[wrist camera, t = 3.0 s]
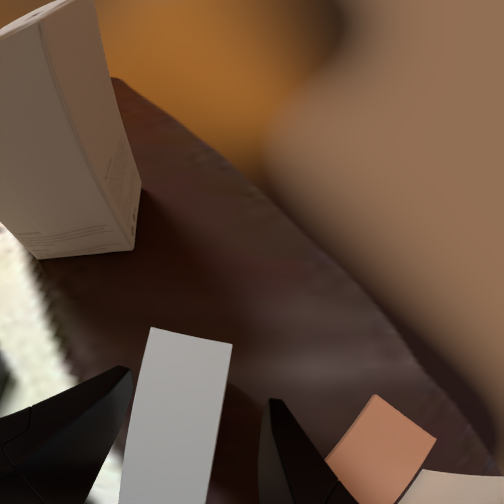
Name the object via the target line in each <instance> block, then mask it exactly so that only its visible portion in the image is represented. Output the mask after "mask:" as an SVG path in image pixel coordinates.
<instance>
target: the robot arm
mask: <svg viewBox="0 0 504 504" xmlns="http://www.w3.org/2000/svg"><path fill="white" fill-rule="evenodd" d="M132 393H133V381H132V371H131V369H129V368H127V367H123V366H120V365H118V366H116V367H114V368H112V369H109V370H107V371H105V372H103V373H101V374H99V375H97V376H95V377H93V378H91V379H89V380H87V381H85V382H83V383H80V384H78V385H76V386H74V387H72V388H70V389H68V390H65V391H63V392H61V393H59V394H57V395H55V396H52V397H50V398H48V399H46V400H43V401H41V402H39V403H37V404H34V405H32V407H27V408H25V409H23V410H20V411H18V412H15V413H13V414H10V415H8V416H4V417H1V418H0V504H84V503H85V501H86V499H87V497H88V495H89V492H90V490H91V488H92V486H93V484H94V482H95V480H96V478H97V476H98V473H99V471H100V469H101V467H102V465H103V463H104V461H105V459H106V457H107V455H108V453H109V451H110V449H111V447H112V445H113V443H114V441H115V439H116V437H117V435H118V433H119V430H120V427H121V424H122V422H123V419H124V416H125V413H126V410H127V407H128V405H129V402H130V399H131V396H132ZM258 488H259V504H359V503H358V502H357V501H356V499H355V498H354V497H353V496H352V495H351V494H350V492H349V491H348V490H347V489H346V487H345V486H344V485H343V484H342V482H341V481H340V480H339V481H338V477H337V476H336V475H335V473H334V472H333V471H332V469H331V468H330V467H329V465H328V464H327V462H326V461H325V460H324V458H323V457H322V456H321V454H320V453H319V452H318V450H317V449H316V447H315V446H314V445H313V443H312V442H311V440H310V439H309V438H308V436H307V435H306V433H305V432H304V430H303V429H302V428H301V426H300V425H299V423H298V422H297V420H296V419H295V418H294V416H293V415H292V413H291V412H290V410H289V409H288V407H287V406H286V404H285V403H284V401H283V400H281V399H275V398H269V399H268V400H267V403H266V406H265V409H264V413H263V416H262V421H261V431H260V442H259V452H258Z"/></svg>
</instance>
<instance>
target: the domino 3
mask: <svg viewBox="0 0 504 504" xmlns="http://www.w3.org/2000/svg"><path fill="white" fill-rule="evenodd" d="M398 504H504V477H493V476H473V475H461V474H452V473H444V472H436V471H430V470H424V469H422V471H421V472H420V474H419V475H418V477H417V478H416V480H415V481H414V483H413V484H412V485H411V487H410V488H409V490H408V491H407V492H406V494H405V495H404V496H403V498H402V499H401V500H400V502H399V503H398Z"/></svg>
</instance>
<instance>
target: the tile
mask: <svg viewBox="0 0 504 504" xmlns="http://www.w3.org/2000/svg"><path fill="white" fill-rule="evenodd" d="M435 441H436V439H435V438H434V437H432V436H431V435H430V434H428V433H427V432H425V431H424V430H423V429H421V428H420V427H419V426H417V425H416V424H415V423H413V422H412V421H411V420H409V419H408V418H407V417H405V416H404V415H403V414H401V413H400V412H399V411H397V410H396V409H395V408H393V407H392V406H391V405H389V404H388V403H387V402H385V401H384V400H383V399H381V398H380V397H379V396H378V395H376V394H375V395H372V397H371V398H370V400H369V401H368V403H367V404H366V406H365V407H364V409H363V410H362V412H361V413H360V414H359V416H358V417H357V419H356V420H355V421H354V423H353V424H352V425H351V427H350V428H349V429H348V431H347V432H346V433H345V435H344V436H343V437H342V439H341V440H340V441H339V442H338V444H337V445H336V446H335V447H334V449H333V450H332V451H331V452H330V453H329V455H328V456H327V457H326V458H325V459H324V460H325V461H326V462H327V464H328V465H329V467H330V468H331V469H332V471H333V472H334V473H335V475H336V476H337V477H338V481H339V480H340V481H341V482H342V484H343V485H344V486H345V487H346V489H347V490H348V491H349V492H350V494H351V495H352V496H353V497H354V498H355V499H356V501H357V502H358V503H359V504H394V502H395V501H396V500H397V499H398V497H399V496H400V495H401V493H402V492H403V491H404V489H405V488H406V486H407V485H408V484H409V482H410V481H411V479H412V478H413V476H414V475H415V474H416V472H417V471H418V469H419V467H420V466H421V464H422V463H423V461H424V460H425V458H426V456H427V455H428V453H429V451H430V450H431V448H432V446H433V445H434V443H435Z"/></svg>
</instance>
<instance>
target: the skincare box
mask: <svg viewBox="0 0 504 504" xmlns="http://www.w3.org/2000/svg"><path fill="white" fill-rule="evenodd" d="M140 192H141V180H140V177H139V174H138V171H137V167H136V164H135V161H134V158H133V155H132V152H131V149H130V146H129V143H128V139H127V136H126V133H125V130H124V127H123V123H122V120H121V117H120V113H119V110H118V106H117V102H116V99H115V95H114V91H113V87H112V83H111V79H110V75H109V71H108V67H107V62H106V59H105V54H104V49H103V45H102V41H101V35H100V30H99V25H98V20H97V15H96V9H95V4H94V0H56V1H54V2H51V3H49V4H47V5H45V6H43V7H41V8H38V9H36V10H34V11H32V12H30V13H28V14H26V15H25V16H23V17H21V18H19V19H17V20H15V21H14V22H12V23H10V24H9V25H7V26H5V27H4V28H2V29H0V222H1V223H2V224H3V225H4V226H5V227H6V228H7V229H8V230H9V231H10V232H11V233H12V234H13V235H14V236H15V237H16V239H17V240H18V241H19V242H20V243H21V244H22V245H24V246H25V247H26V248H27V249H28V250H29V251H30V252H31V253H32V254H33V255H34V256H35V257H36V258H37V259H38V260H39V259H49V258H59V257H69V256H78V255H89V254H99V253H107V252H116V251H131V250H133V249H134V243H135V232H136V222H137V213H138V208H139V199H140Z"/></svg>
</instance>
